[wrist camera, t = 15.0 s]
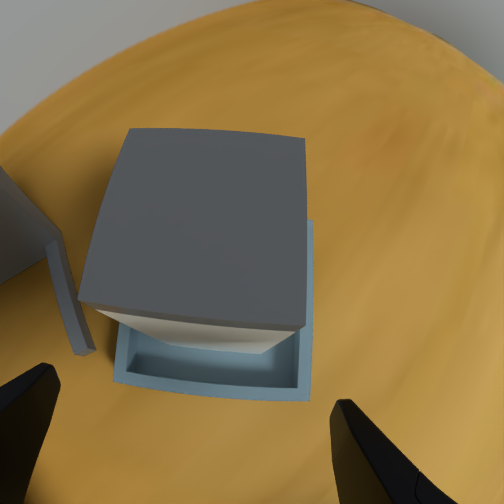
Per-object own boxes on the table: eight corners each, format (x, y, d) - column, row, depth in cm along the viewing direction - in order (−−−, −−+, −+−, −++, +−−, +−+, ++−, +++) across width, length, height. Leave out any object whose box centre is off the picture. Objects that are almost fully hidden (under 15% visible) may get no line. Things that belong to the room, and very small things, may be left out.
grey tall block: (260, 354, 19) (305, 325, 7) (169, 344, 19) (77, 299, 7) (266, 267, 22) (305, 138, 10) (181, 260, 21) (129, 128, 9)
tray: (301, 397, 19) (309, 401, 17) (125, 380, 19) (112, 381, 16) (304, 235, 23) (312, 220, 21) (150, 223, 23) (142, 207, 21)
